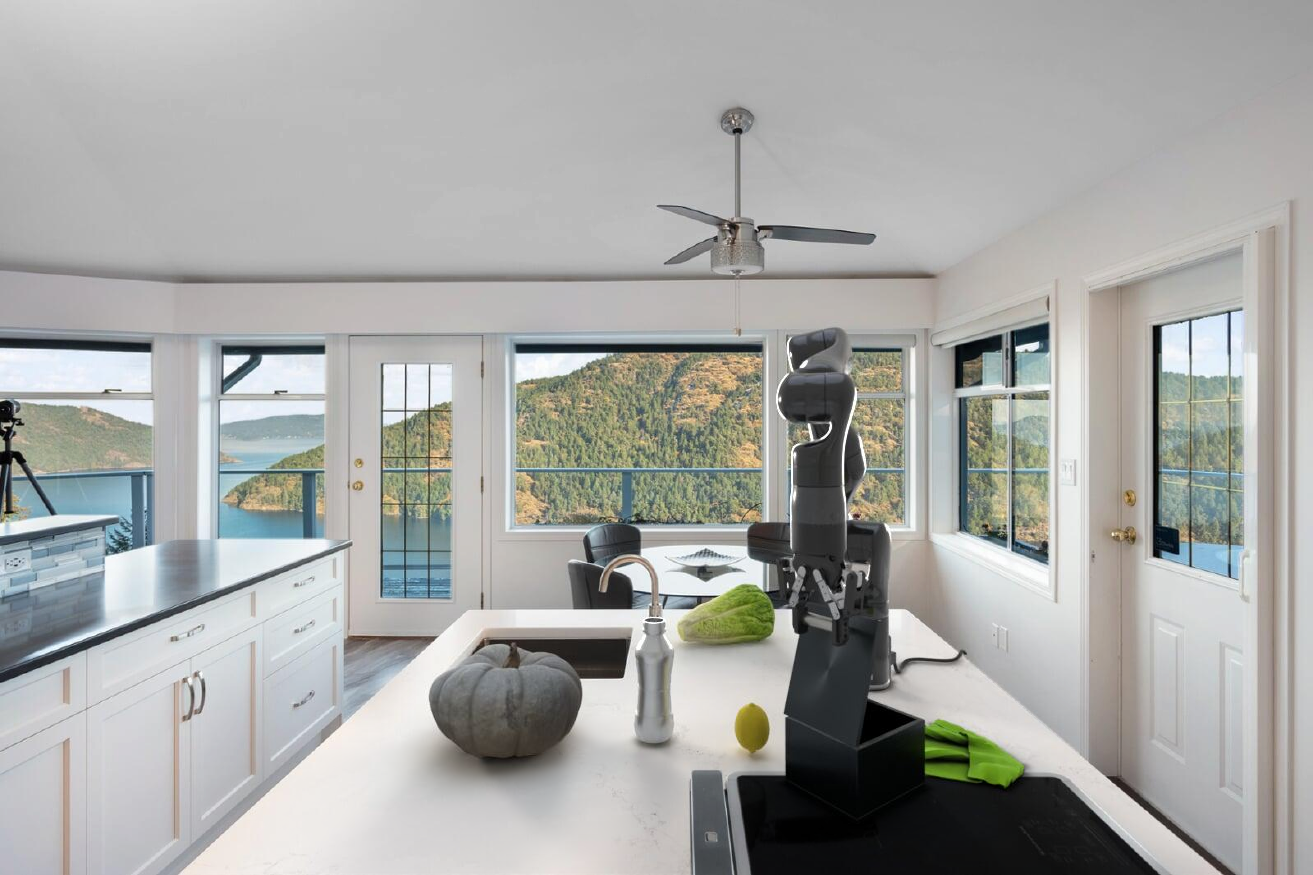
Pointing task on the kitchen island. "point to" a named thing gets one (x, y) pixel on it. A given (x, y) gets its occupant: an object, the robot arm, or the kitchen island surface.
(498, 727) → the gourd
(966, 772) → the cloth
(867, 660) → the caddy lid
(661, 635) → the silver bottle
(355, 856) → the kitchen island surface
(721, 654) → the kitchen island surface
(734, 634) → the lettuce
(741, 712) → the lemon
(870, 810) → the box
